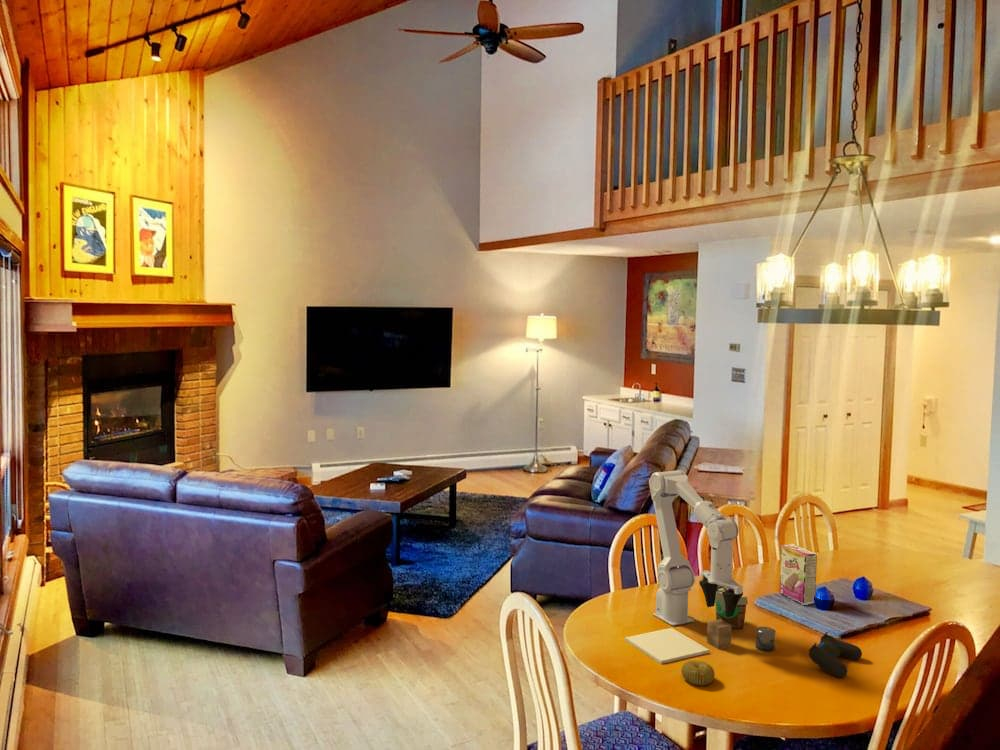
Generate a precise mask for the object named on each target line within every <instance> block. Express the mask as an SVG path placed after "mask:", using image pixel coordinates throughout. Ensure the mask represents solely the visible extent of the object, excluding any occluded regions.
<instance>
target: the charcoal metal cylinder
mask: <svg viewBox="0 0 1000 750" xmlns="http://www.w3.org/2000/svg"><path fill="white" fill-rule="evenodd" d="M754 646H755V649H757V650H758V651H761V652H763V651H764V652H765V653H770V652H771V651H772V652H774V651H776V630H775V629H773V628H772V627H769V626H758V627H756V628H755V645H754ZM772 652H771V653H772Z"/></svg>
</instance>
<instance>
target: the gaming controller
mask: <svg viewBox="0 0 1000 750" xmlns="http://www.w3.org/2000/svg"><path fill="white" fill-rule="evenodd" d="M862 655H863V653H862V650H861V648H860V647H859V646H857V645H855V644H852V643H850V642H847V641H843V640H840V639H837V638H835V637H834V636H832V635H828V631H826V632H825V633H824V634H823V635H822V636H821V637H820V642H819V643H818V644H817V642H815V643H814V644H813V645H812V647H810V648H809V650H808V656H809V658H810V660H811V661H812V662H814V663H815V664H816V665H817V666H818V667H819V668H821V669H822V670H824V671H825V672H827V673H829V674H830V675H832V676H834V677H836V678H840V679H842V678H844V677H846V676H847V674H848V668H847V666H846V665H845V664H844V663H843V662H842V661H840V660H838V657H843V658H846V659H850V660H854V661H858V660H859V659H861V658H862Z"/></svg>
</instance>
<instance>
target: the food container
mask: <svg viewBox="0 0 1000 750" xmlns="http://www.w3.org/2000/svg"><path fill="white" fill-rule="evenodd" d="M724 591H728V589H727V588H725V587H722V586H720V585H718V587H717V590H716V597H715V605H714V607H715V620H719V619H721V620H723V621H725V622H727V623H728V624H730V625H732V629H731V630H737V631H738V630H739V631H740V630H741V631H742V630H744V628H745V619H746V610H747V609H746V608H747V605H748V604H749V603H748V602H749V600H748V597H747V596H742V597H741V598H740V600H739V601H738V603H737V606H736V609H735V612H734V615H733V616H731V617H727V616H726V614H725V601H724V597H723V594H722V592H724Z"/></svg>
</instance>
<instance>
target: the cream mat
mask: <svg viewBox="0 0 1000 750" xmlns="http://www.w3.org/2000/svg"><path fill="white" fill-rule="evenodd" d="M624 641H625V642H627V643H628V644H630V645H631V646H632V647H635V648H636V649H637V650H639V651H640V652H642V653H644V654H645V655H647V656H648V657H650V658H651V659H653V660H654V661H655V662H657V663H659V664H660V665H663V664H666V663H671V662H672V663H673V662H675V661H680V660H684V659H689V658H692V657H696V656H701V655H705V654H710V649H709V648H707V647H705V646H703V645H701V643H698V642H697V641H695V640H693V639H691V638H689V637H688V636H686V635H685V634H682V633H681V632H679V631H678V630H677V629H674V628H673V627H669V628H664V629H663V628H662V629H660V630H655V631H650V632H644V633H641V634H635V635H630V636H626V637H624Z"/></svg>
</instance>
